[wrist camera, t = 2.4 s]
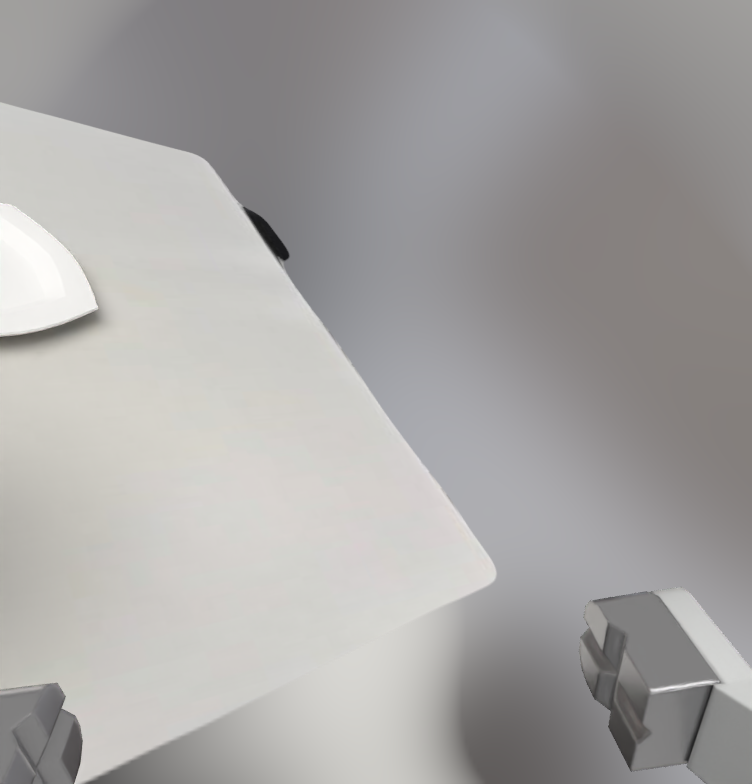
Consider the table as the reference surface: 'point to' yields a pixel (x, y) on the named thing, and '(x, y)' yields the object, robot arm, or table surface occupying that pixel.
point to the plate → (37, 278)
